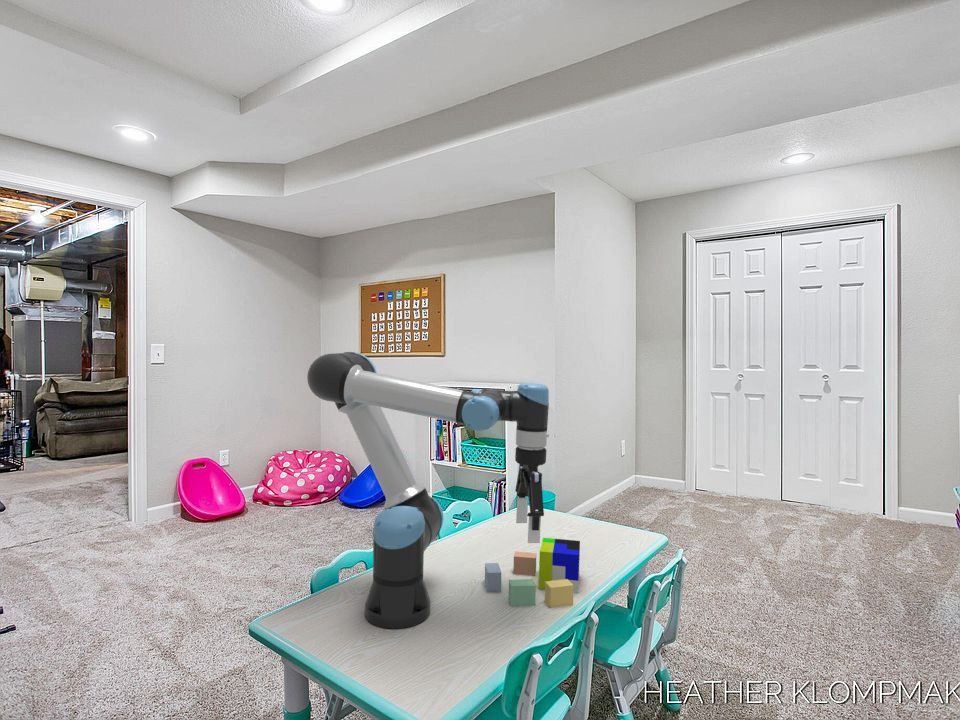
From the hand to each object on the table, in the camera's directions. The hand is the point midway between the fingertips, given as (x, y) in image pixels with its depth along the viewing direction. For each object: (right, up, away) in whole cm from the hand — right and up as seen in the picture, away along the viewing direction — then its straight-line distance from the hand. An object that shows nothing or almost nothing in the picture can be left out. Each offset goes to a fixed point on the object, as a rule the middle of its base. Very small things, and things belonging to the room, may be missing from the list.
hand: (527, 532), depth 137 cm
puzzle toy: (+9, -17, +11) cm, 22 cm away
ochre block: (+8, -17, -1) cm, 19 cm away
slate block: (-8, -17, +8) cm, 20 cm away
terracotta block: (+1, -16, +17) cm, 23 cm away
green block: (-1, -17, -1) cm, 17 cm away
